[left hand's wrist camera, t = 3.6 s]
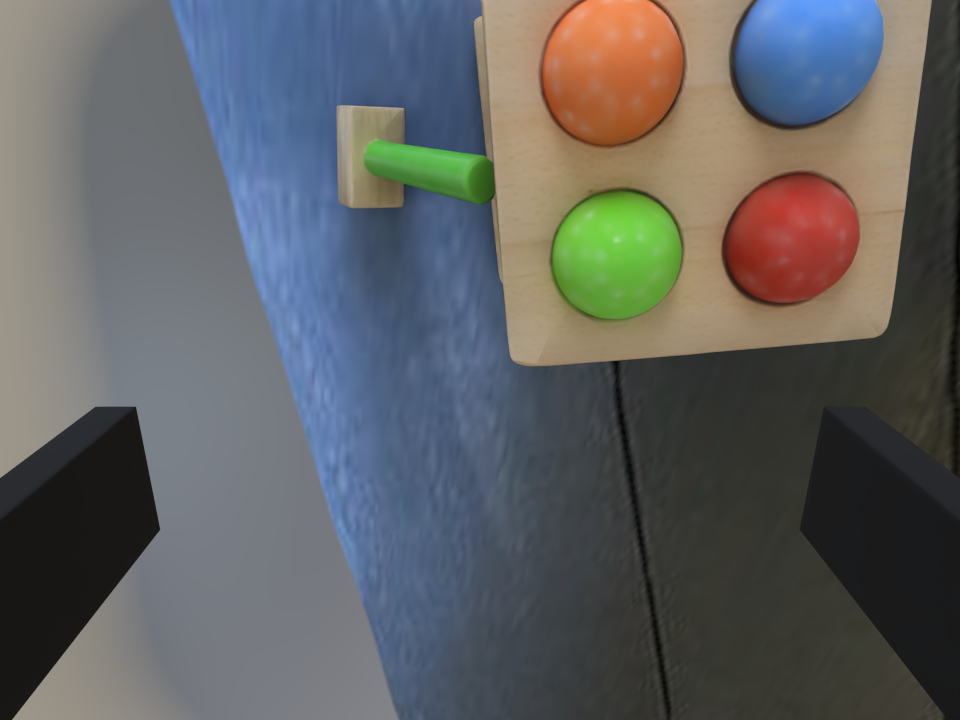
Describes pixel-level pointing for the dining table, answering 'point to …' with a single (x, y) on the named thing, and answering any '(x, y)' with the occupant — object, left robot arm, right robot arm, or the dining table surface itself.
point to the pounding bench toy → (676, 170)
